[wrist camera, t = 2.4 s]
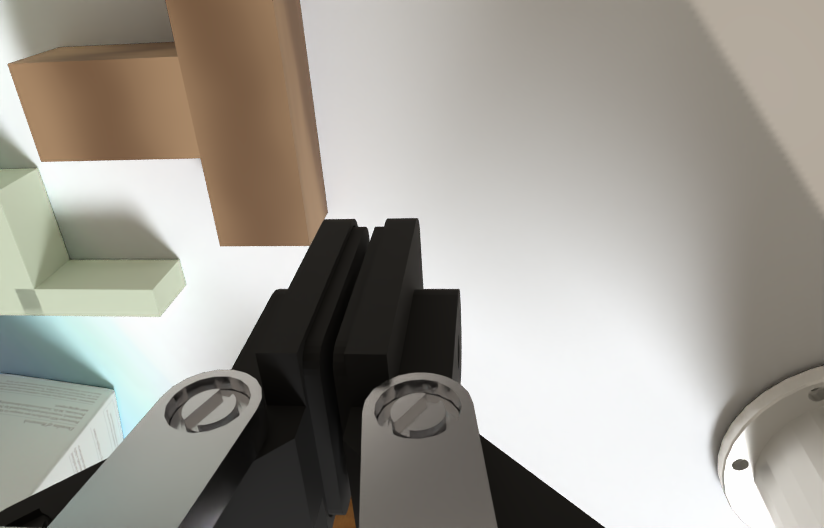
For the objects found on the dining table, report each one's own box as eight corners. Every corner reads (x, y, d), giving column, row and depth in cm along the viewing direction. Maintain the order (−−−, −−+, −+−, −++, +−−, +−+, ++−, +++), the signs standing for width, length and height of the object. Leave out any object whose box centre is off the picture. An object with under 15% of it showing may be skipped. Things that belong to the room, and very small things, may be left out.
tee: (290, -73, 25) (262, -70, 22) (327, 212, 31) (309, 245, 28) (28, -55, 26) (-32, -50, 23) (110, 214, 32) (70, 247, 29)
